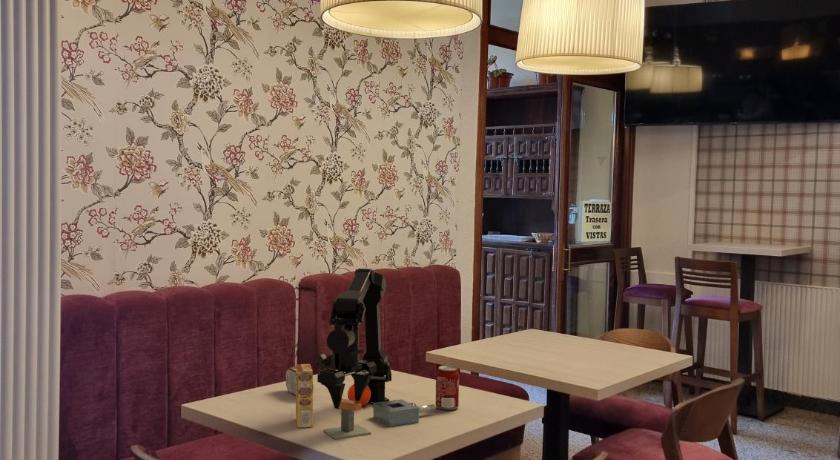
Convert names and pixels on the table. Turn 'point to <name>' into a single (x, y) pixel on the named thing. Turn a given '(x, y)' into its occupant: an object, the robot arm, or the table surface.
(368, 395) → the clementine
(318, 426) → the table surface
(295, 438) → the table surface
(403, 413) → the block
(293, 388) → the tin
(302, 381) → the candy box
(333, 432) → the mat
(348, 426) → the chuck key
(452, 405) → the soda can
